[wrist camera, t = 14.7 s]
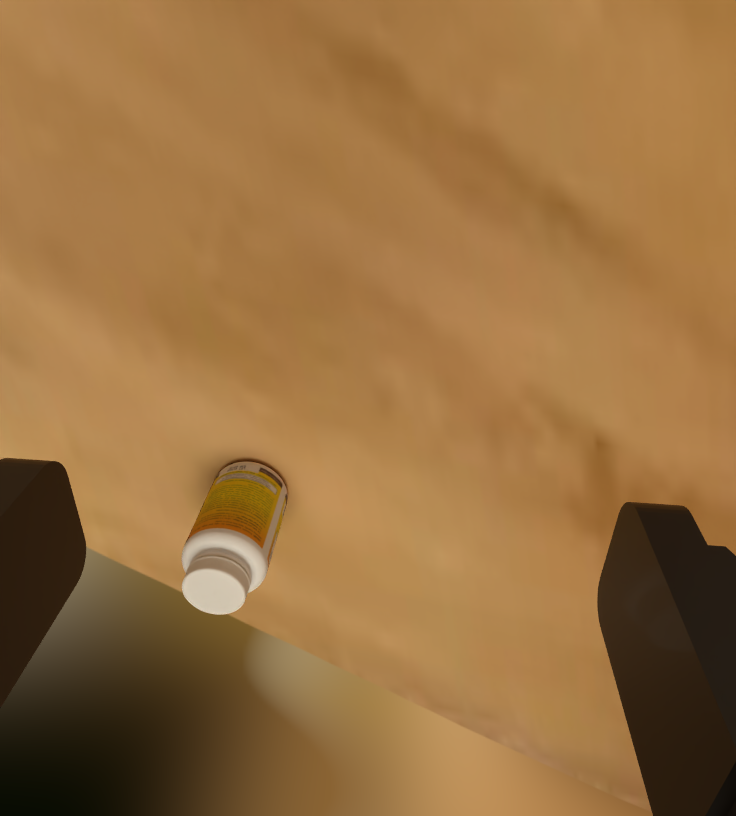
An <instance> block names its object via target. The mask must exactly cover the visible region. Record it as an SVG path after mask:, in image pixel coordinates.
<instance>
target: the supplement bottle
mask: <svg viewBox="0 0 736 816" xmlns="http://www.w3.org/2000/svg"><path fill="white" fill-rule="evenodd" d="M286 504H287V489H286V486H285V484H284V482H283V480H282V479H281V478H280V476H279V475H278V474H277V473H275V472H274V471H273V470H272V469H270V468H268V467H267V466H265V465H262V464H259V463H255V462H237V463H233V464H231V465H229V466H227V467H225V468H224V469H222V470H221V471H220V472H219V474H218V475H217V476H216V478H215V480H214V482H213V484H212V486H211V489H210V491H209V493H208V495H207V497H206V499H205V502H204V504H203V506H202V508H201V510H200V513H199V515H198V517H197V519H196V522H195V524H194V526H193V528H192V530H191V532H190V535H189V537H188V539H187V541H186V543H185V546H184V549H183V552H182V564H183V568H184V570H185V572H186V575H185V577H184V580H183V583H182V591H183V594H184V596H185V598H186V599H187V600H188V601H189V603H191V604H192V605H193V606H194V607H196V608H197V609H199V610H202V611H204V612H207V613H211V614H229V613H232V612H234V611H236V610H238V609H239V608H240V607H241V606H242V605H243V604H244V602H245V599H246V596H247V593H249V592H251V591H253V590H255V589H256V588H257V587H258V586H259V585H260V584H261V583H262V582H263V580H264V578H265V576H266V574H267V571H268V567H269V564H270V560H271V557H272V553H273V550H274V546H275V543H276V540H277V536H278V533H279V529H280V526H281V522H282V518H283V515H284V511H285V508H286Z"/></svg>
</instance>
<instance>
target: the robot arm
mask: <svg viewBox="0 0 736 816" xmlns="http://www.w3.org/2000/svg"><path fill="white" fill-rule="evenodd" d="M85 558H86V541H85V537H84V533H83V529H82V526H81V522H80V518H79V515H78V511H77V507H76V504H75V500H74V496H73V493H72V489H71V485H70V482H69V478H68V475H67V472H66V470H65V468H64V466H63V465H62V464H61V463H59V462H56V461H44V460H29V459H14V458H4V459H1V460H0V708H1V706H2V705H3V703H4V701H5V700H6V698H7V696H8V695H9V693H10V692H11V690H12V688H13V687H14V685H15V684H16V682H17V680H18V678H19V677H20V675H21V674H22V672H23V670H24V669H25V667H26V666H27V664H28V662H29V661H30V659H31V658H32V656H33V654H34V653H35V651H36V649H37V648H38V646H39V645H40V643H41V641H42V639H43V638H44V636H45V635H46V633H47V632H48V630H49V628H50V627H51V625H52V623H53V622H54V620H55V619H56V617H57V615H58V614H59V612H60V610H61V609H62V607H63V606H64V604H65V602H66V601H67V599H68V598H69V596H70V594H71V593H72V591H73V589H74V587H75V586H76V584H77V583H78V581H79V579H80V577H81V574H82V571H83V567H84V563H85ZM598 616H599V622H600V627H601V630H602V634H603V638H604V641H605V645H606V648H607V652H608V656H609V659H610V663H611V666H612V670H613V673H614V677H615V681H616V684H617V688H618V691H619V695H620V699H621V702H622V706H623V709H624V713H625V717H626V720H627V724H628V727H629V731H630V734H631V738H632V742H633V745H634V749H635V752H636V756H637V760H638V763H639V767H640V770H641V774H642V778H643V781H644V785H645V788H646V792H647V795H648V799H649V803H650V806H651V810H652V813H653V816H736V556H735V555H734V554H733V553H732V552H731V551H730V550H729V549H728V548H726V547H724V546H710V545H707V543H706V541H705V539H704V537H703V536H702V534H701V532H700V530H699V528H698V526H697V524H696V522H695V520H694V518H693V516H692V515H691V513H690V511H689V510H688V509H687V508H686V507H684V506H680V505H665V504H650V503H636V502H626V503H625V504H624V505H623V506H622V508H621V510H620V512H619V515H618V519H617V522H616V525H615V529H614V532H613V536H612V539H611V543H610V546H609V549H608V553H607V556H606V560H605V563H604V567H603V570H602V573H601V577H600V581H599V586H598Z"/></svg>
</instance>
